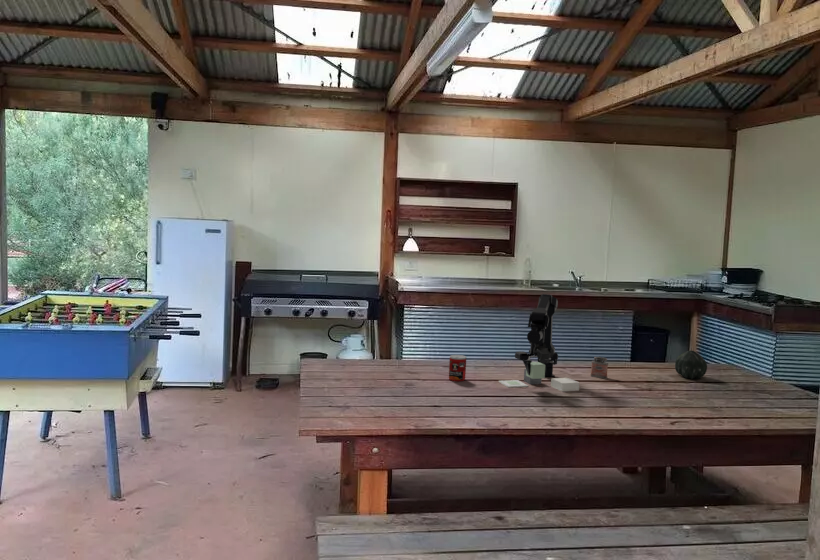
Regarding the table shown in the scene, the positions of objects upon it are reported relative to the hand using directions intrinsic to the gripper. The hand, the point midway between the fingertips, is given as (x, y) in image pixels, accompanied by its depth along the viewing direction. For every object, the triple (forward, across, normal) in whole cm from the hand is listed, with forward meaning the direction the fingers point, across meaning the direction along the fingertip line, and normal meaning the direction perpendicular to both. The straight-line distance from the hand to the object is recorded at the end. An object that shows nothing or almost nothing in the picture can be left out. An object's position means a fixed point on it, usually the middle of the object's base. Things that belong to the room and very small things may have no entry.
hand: (535, 374), depth 285 cm
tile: (+7, -5, +11) cm, 14 cm away
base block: (+8, +16, +1) cm, 18 cm away
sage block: (+1, 0, 0) cm, 1 cm away
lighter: (+7, +46, +19) cm, 50 cm away
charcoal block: (+7, +6, +13) cm, 16 cm away
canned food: (+7, -28, +23) cm, 37 cm away
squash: (+7, +95, +12) cm, 96 cm away
